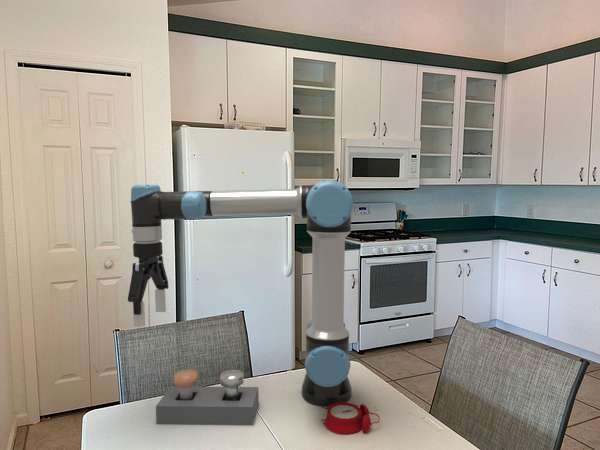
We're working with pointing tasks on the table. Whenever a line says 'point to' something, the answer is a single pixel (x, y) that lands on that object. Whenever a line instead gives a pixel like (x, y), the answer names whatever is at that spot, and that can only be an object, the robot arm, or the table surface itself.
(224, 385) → the metal plunger
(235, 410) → the panel
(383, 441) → the table surface
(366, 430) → the alarm clock
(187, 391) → the terracotta plunger
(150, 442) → the table surface
